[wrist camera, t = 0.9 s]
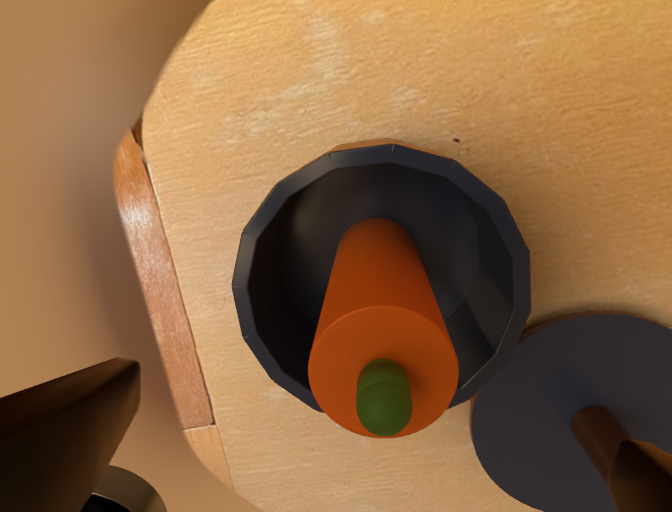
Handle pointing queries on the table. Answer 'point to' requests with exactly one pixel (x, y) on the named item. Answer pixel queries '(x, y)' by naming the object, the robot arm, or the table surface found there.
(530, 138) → the table surface
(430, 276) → the pot
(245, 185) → the table surface
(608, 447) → the lid
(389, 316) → the carrot
